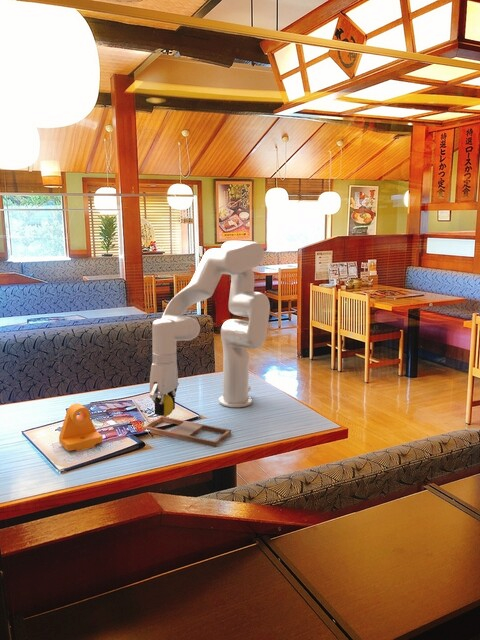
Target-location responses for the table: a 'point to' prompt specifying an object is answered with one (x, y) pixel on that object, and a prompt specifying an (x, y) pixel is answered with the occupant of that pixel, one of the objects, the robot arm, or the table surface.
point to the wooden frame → (188, 431)
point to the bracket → (78, 430)
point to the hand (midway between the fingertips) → (164, 411)
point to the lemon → (167, 405)
